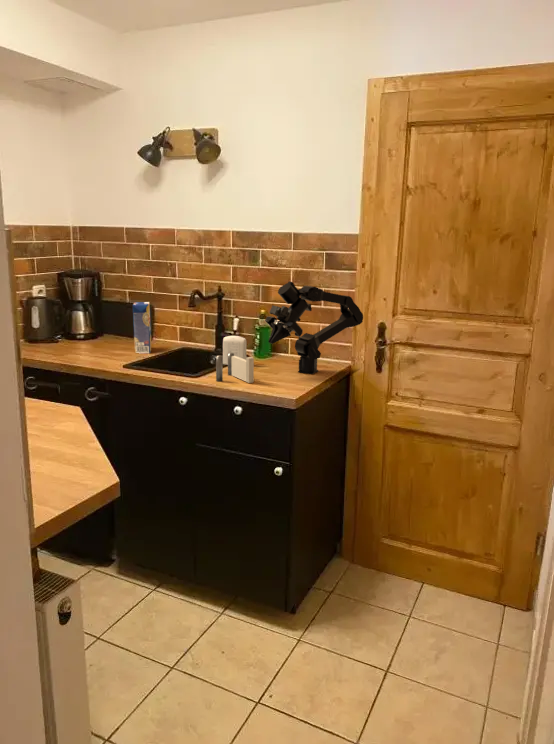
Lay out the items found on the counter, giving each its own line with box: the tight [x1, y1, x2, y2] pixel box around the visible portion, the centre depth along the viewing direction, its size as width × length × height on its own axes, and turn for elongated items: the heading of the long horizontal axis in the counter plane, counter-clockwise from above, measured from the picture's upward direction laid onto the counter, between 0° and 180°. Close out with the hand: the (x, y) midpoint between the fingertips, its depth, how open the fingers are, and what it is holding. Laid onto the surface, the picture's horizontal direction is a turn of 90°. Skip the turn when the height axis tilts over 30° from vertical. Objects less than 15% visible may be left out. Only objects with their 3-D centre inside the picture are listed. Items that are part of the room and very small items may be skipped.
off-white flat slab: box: [231, 356, 255, 384], centre depth 214 cm, size 14×2×9 cm, turn 33°
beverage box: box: [132, 301, 152, 354], centre depth 261 cm, size 7×11×22 cm, turn 9°
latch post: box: [215, 355, 224, 382], centre depth 211 cm, size 2×2×10 cm
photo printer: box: [222, 335, 247, 366], centre depth 237 cm, size 10×4×12 cm, turn 72°
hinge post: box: [227, 353, 234, 376], centre depth 221 cm, size 2×2×8 cm
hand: (270, 342), depth 215 cm, fingers closed
